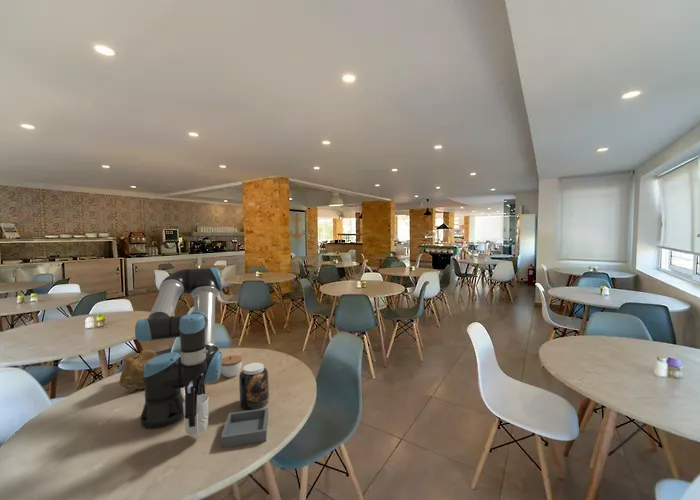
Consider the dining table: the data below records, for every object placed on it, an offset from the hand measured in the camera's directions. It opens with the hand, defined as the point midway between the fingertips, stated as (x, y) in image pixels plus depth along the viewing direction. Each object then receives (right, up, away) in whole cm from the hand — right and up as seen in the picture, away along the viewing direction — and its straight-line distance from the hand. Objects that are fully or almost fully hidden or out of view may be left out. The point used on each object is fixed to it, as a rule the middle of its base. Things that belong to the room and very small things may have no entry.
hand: (197, 426), depth 103 cm
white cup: (0, -1, 0) cm, 1 cm away
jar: (+13, -3, +22) cm, 26 cm away
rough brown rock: (-43, -4, +39) cm, 59 cm away
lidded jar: (-7, -2, +48) cm, 49 cm away
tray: (+16, -4, +3) cm, 17 cm away
